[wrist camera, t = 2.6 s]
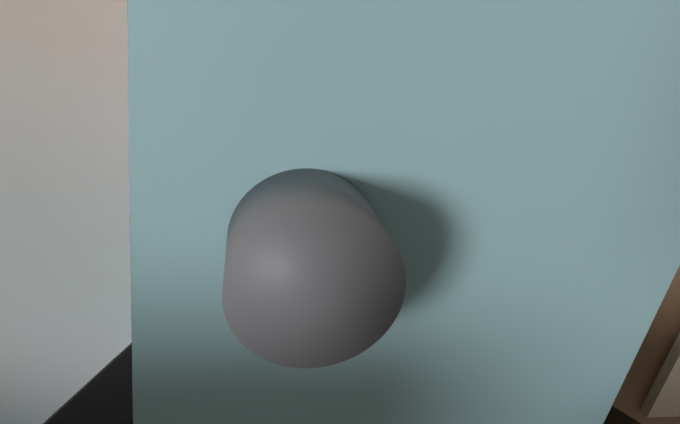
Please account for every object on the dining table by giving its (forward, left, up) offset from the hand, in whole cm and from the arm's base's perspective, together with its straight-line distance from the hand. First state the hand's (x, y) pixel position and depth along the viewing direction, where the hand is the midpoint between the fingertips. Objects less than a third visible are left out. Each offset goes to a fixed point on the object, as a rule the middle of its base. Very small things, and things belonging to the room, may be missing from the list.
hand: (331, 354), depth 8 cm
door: (0, 0, -1) cm, 1 cm away
